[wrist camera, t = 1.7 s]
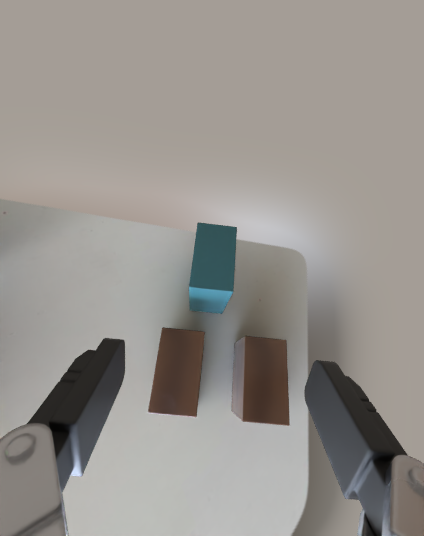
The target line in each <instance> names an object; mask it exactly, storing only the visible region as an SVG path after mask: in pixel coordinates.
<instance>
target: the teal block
mask: <svg viewBox="0 0 424 536" xmlns="http://www.w3.org/2000/svg"><path fill="white" fill-rule="evenodd" d="M236 233H237V227H231V226H223V225H213V224H206V223H198V224H197V232H196V239H195V247H194V254H193V262H192V269H191V277H190V284H189V303H190V310H191V311H201V312H210V313H220V314H222V313H223V311H224V309H225V307H226V305H227V303H228V301H229V299H230V297H231V295H232V293H233V288H234V270H235V252H236Z"/></svg>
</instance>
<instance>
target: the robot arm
mask: <svg viewBox="0 0 424 536" xmlns="http://www.w3.org/2000/svg"><path fill="white" fill-rule="evenodd" d="M124 373H125V342H124V340H120V339H110V338H104V339H103V340H102V342H101V343H100V345H99V346H98V348H97V349H96V351H95V350H87V351H86V352H84V353H83V354H82V355H80V356H79V357H77V358H76V359H75V360H74V362H73V363H72V365H71V366H70V367H69V369H68V371H67V372H66V373H65V374H64V375H63V377H62V378H61V380H60V382H58V383H57V385H56V386H55V387H54V389H53V390H52V391H51V393H50V394H49V395H48V397H47V398H46V399H45V401H44V402H43V403H42V405H41V406H40V408H39V409H38V410H37V412H36V413H35V414H34V416H33V417H32V418H31V420H30V421H29V422H28V423H27V424H26V425H23V426H20V427H18V428H16V429H14V430H12V431H11V432H9V433H8V434H6V435H5V436H3V437H2V438H1V439H0V536H69V535H68V529H67V522H66V515H65V508H64V502H63V495H62V492H63V490H64V488H65V486H66V483H67V481H68V479H69V477H70V475H71V476H82V474H83V472H84V470H85V468H86V465H87V463H88V461H89V458H90V456H91V454H92V451H93V449H94V447H95V445H96V442H97V440H98V438H99V435H100V433H101V431H102V428H103V426H104V424H105V422H106V419H107V417H108V415H109V412H110V410H111V408H112V406H113V403H114V401H115V399H116V396H117V394H118V392H119V389H120V387H121V385H122V382H123V378H124ZM305 401H306V404H307V406H308V409H309V411H310V414H311V416H312V419H313V421H314V424H315V426H316V428H317V431H318V433H319V436H320V438H321V440H322V443H323V446H324V448H325V451H326V453H327V455H328V458H329V460H330V463H331V465H332V468H333V470H334V473H335V475H336V477H337V480H338V482H339V485H340V487H341V490H342V492H343V495H344V497H345V499H357V500H359V501H360V503H361V505H362V507H363V510H362V512H361V514H360V519H359V527H358V535H357V536H424V463H422V462H420V461H419V460H417V459H415V458H412V457H410V456H408V455H407V454H406V452H405V451H404V449H403V448H402V446H401V445H400V443H399V442H398V441H397V439H396V438H395V436H394V435H393V434H392V432H391V431H390V429H389V428H388V426H387V425H386V423H385V422H384V420H383V419H382V418H381V416H380V415H379V413H377V412H376V409H375V407H374V406H373V405H372V403H371V402H369V399H368V397H367V396H366V395H365V393H364V392H363V390H362V389H361V387H360V386H358V385H357V384H356V383H355V382H354V381H353V380H352V379H351V378H350V377H347V376H345V375H344V374H343V372H342V371H341V369H340V368H339V366H338V365H337V364H336V363H335V362H328V361H318V360H316V361H315V362H314V363H313V366H312V369H311V372H310V375H309V377H308V380H307V383H306V386H305Z"/></svg>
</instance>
